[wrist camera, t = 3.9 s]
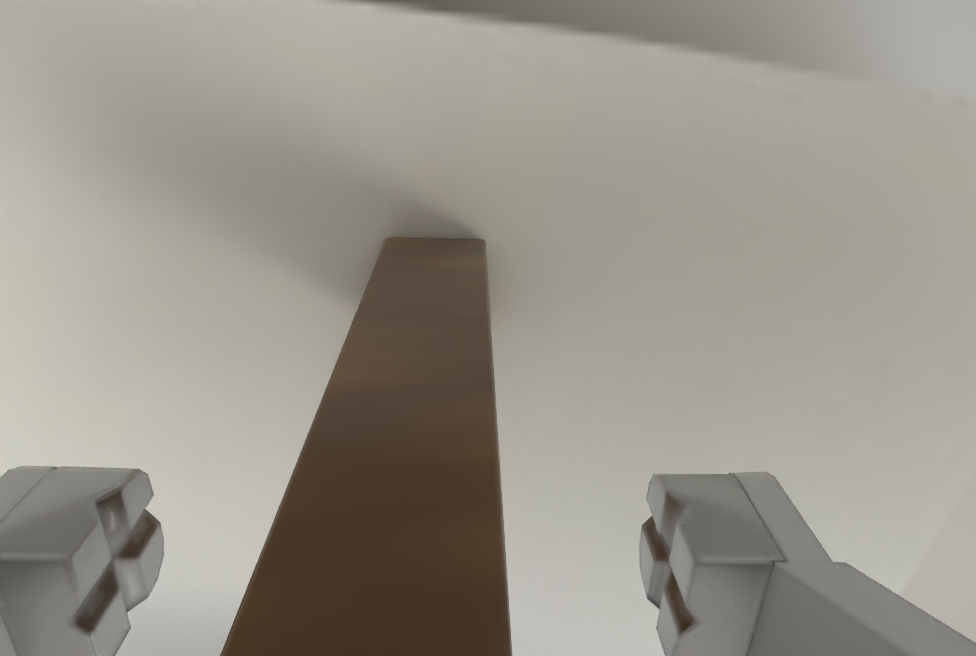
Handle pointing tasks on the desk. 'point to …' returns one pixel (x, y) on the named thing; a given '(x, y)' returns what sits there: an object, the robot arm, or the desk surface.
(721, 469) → the desk surface
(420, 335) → the stick
